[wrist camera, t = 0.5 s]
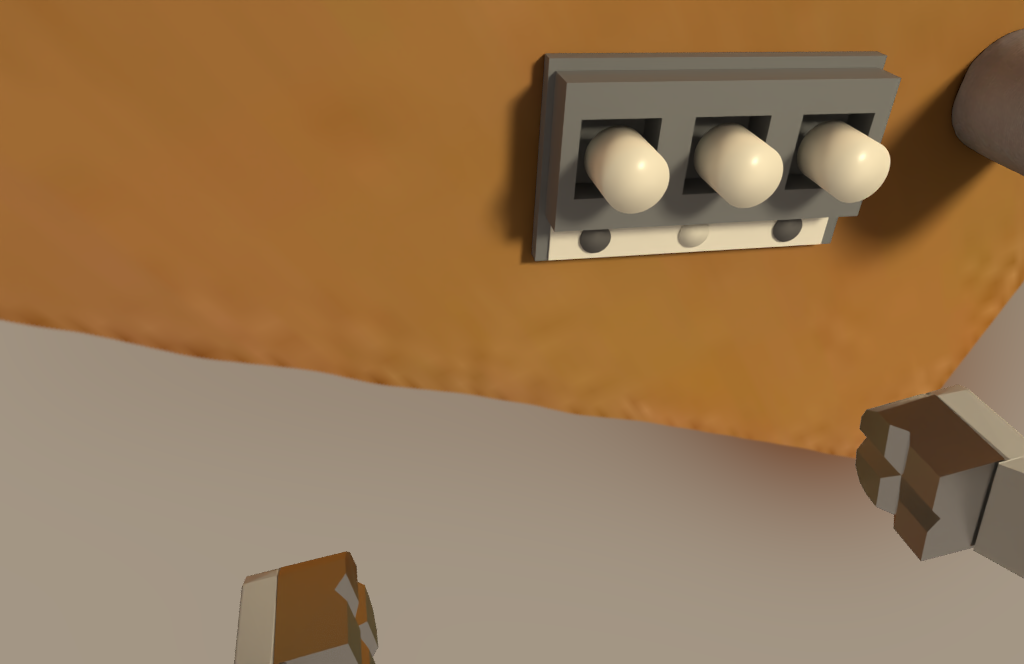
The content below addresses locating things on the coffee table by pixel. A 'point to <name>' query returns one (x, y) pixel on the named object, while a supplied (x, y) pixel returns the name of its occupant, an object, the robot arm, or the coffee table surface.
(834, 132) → the button
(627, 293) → the coffee table surface
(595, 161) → the button
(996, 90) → the pillar candle
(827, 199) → the board
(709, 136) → the button
